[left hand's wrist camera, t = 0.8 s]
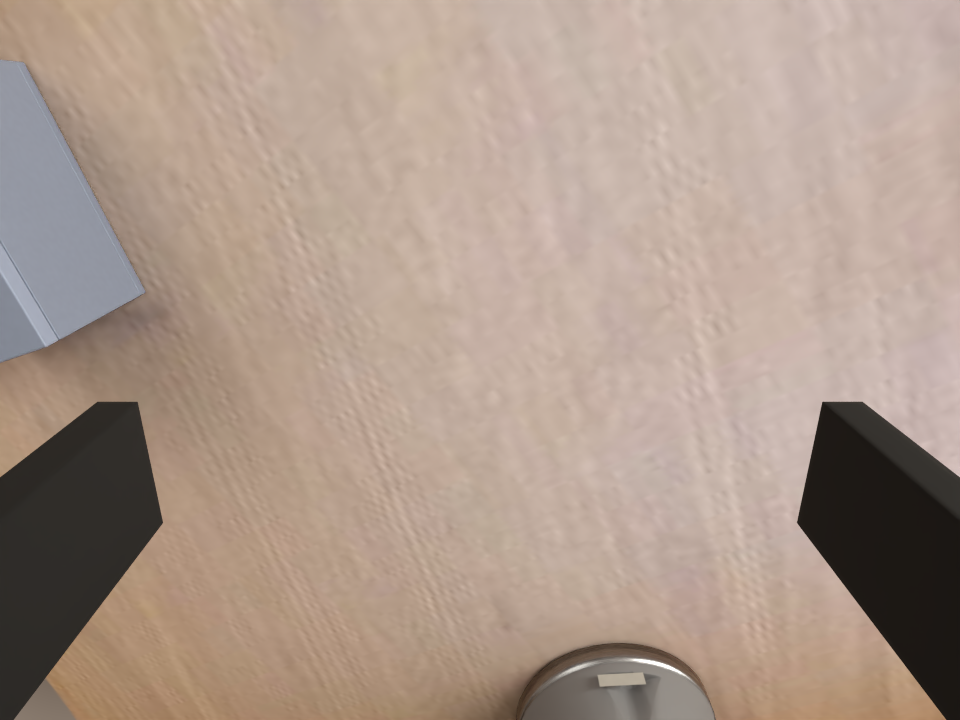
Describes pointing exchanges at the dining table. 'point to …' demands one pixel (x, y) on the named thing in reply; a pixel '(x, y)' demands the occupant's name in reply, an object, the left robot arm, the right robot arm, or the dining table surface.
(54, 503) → the left robot arm
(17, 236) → the chest
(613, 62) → the dining table surface
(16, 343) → the door
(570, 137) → the dining table surface
